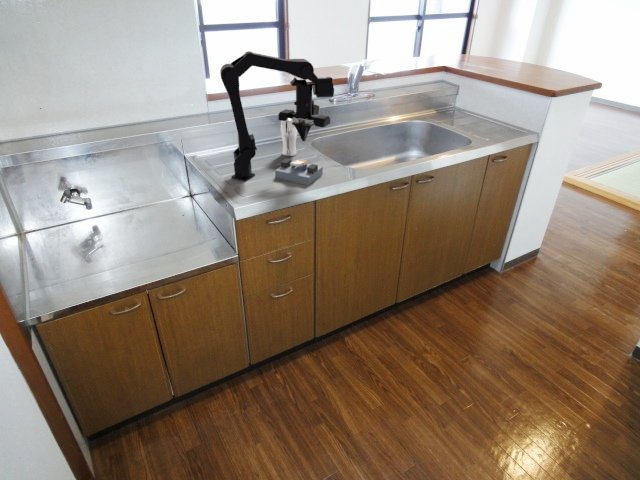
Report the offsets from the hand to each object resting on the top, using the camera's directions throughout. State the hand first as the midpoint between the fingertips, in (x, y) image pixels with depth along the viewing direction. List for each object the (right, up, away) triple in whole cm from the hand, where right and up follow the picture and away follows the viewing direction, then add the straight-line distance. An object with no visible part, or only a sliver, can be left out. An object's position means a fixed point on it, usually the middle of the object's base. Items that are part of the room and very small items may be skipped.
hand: (303, 141), depth 158 cm
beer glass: (-7, 0, +24) cm, 25 cm away
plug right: (+3, -11, 0) cm, 12 cm away
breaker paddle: (-2, -8, +1) cm, 8 cm away
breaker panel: (-2, -12, +4) cm, 13 cm away
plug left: (-7, -8, +4) cm, 12 cm away
